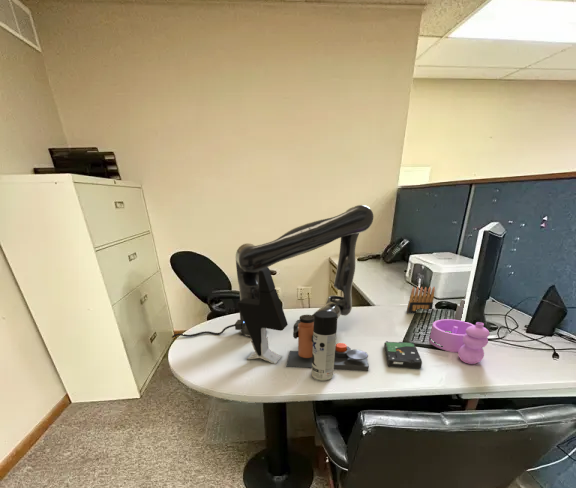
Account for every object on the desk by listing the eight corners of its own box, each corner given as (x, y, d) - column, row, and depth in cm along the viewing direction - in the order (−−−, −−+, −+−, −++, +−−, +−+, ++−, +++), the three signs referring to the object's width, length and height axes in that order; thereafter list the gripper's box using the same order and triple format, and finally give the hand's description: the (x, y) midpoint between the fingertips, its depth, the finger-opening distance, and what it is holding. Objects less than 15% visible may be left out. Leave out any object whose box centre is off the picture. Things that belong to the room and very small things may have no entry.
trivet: (286, 367, 105) (286, 365, 105) (290, 351, 115) (290, 350, 115) (320, 368, 104) (320, 367, 104) (321, 353, 114) (321, 352, 113)
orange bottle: (297, 357, 106) (297, 320, 100) (299, 349, 111) (299, 313, 105) (314, 358, 106) (315, 320, 99) (315, 350, 111) (316, 314, 104)
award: (288, 357, 111) (287, 268, 96) (283, 365, 107) (281, 272, 92) (247, 351, 115) (241, 264, 100) (241, 358, 111) (233, 268, 96)
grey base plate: (323, 369, 104) (323, 359, 102) (324, 353, 114) (324, 344, 112) (368, 371, 103) (369, 361, 101) (364, 355, 112) (366, 345, 111)
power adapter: (468, 323, 136) (476, 295, 131) (455, 322, 137) (462, 295, 131) (466, 320, 139) (474, 293, 133) (453, 320, 140) (460, 292, 134)
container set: (423, 334, 127) (430, 301, 120) (462, 334, 127) (472, 301, 120) (450, 366, 105) (460, 328, 99) (498, 366, 105) (511, 328, 98)
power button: (335, 352, 107) (335, 347, 107) (335, 347, 111) (335, 342, 110) (346, 352, 107) (347, 347, 106) (346, 347, 110) (346, 343, 109)
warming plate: (346, 359, 102) (346, 358, 102) (345, 350, 108) (346, 349, 108) (368, 360, 101) (368, 359, 101) (366, 351, 107) (366, 349, 107)
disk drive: (421, 369, 103) (412, 348, 116) (423, 362, 102) (414, 341, 115) (387, 367, 105) (383, 347, 117) (389, 360, 103) (384, 340, 116)
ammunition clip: (429, 311, 149) (435, 285, 143) (431, 313, 147) (437, 287, 142) (406, 311, 149) (411, 285, 143) (407, 313, 148) (412, 287, 142)
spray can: (310, 370, 103) (311, 310, 93) (331, 369, 104) (335, 309, 94) (313, 381, 97) (315, 318, 88) (335, 380, 98) (340, 317, 88)
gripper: (304, 306, 117) (283, 323, 104) (343, 312, 111) (325, 330, 98) (304, 325, 121) (283, 344, 108) (341, 332, 115) (324, 352, 102)
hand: (303, 337), depth 103 cm, fingers closed on orange bottle, 5 cm apart
